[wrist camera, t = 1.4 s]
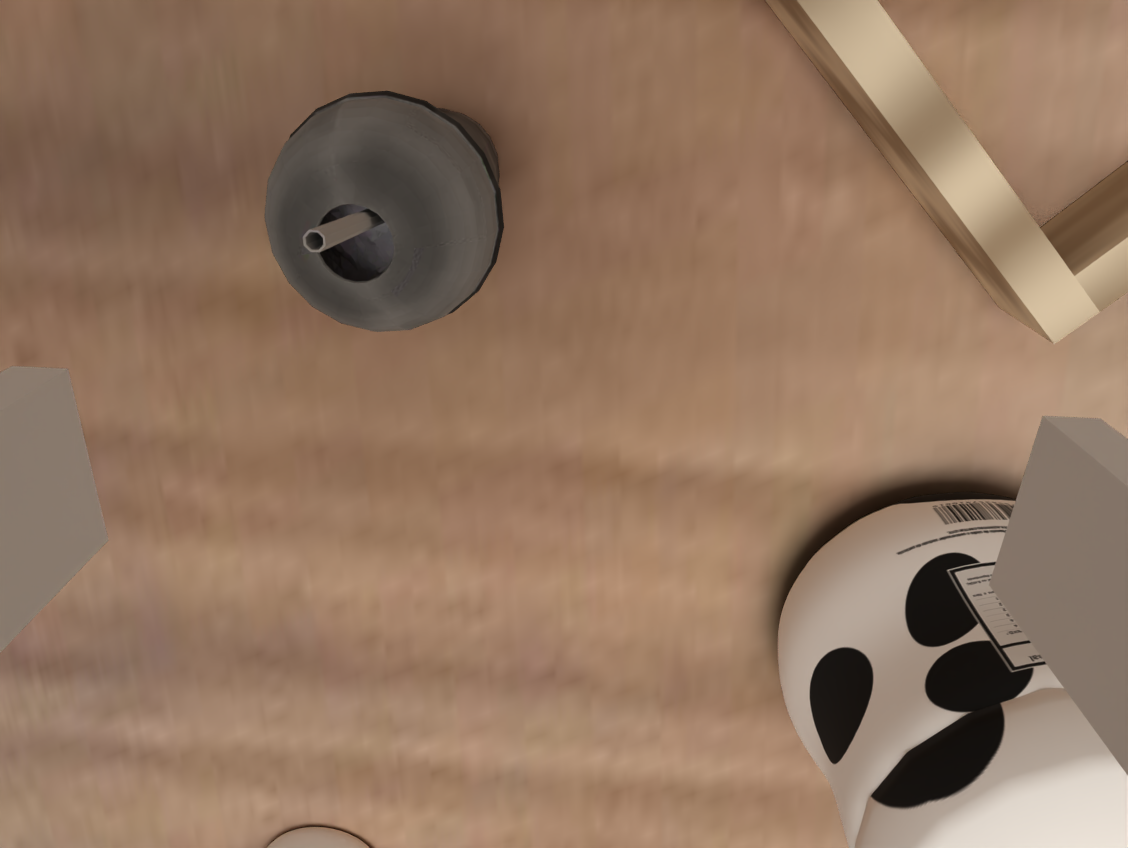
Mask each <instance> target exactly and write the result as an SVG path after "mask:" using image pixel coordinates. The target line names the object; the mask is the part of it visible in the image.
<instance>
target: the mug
mask: <svg viewBox="0 0 1128 848" xmlns="http://www.w3.org/2000/svg"><path fill="white" fill-rule="evenodd" d="M267 848H370V847H369V846H367V845H366V844H365V843H364V842H362V841H361V840H360V839H358V838H356V837H355V836H352V835H350V834H348V833H346V832H343V831H340V830H336V829H332V828H326V827H306V828H300V829H296V830H292V831H289V832H287V833H285V834H283V835H281V836H279V837H278V838H277V839H275V840H274V841H273V842H272V843H271V844H270V845H269V846H268V847H267Z"/></svg>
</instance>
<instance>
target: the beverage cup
mask: <svg viewBox="0 0 1128 848" xmlns="http://www.w3.org/2000/svg"><path fill="white" fill-rule="evenodd" d="M498 183H499V166H498V157H497V152H496V150H495V147H494V145H493V143H492V140H491V138H490V137H489V135H488V134H487V133H486V132H485V130H484V129H483V128H482V127H481V126H480V124H478V123H477V122H475V121H474V120H472V119H470V118H469V117H467V116H466V115H463V114H462V113H458V112H454V111H450V110H447V109H443V108H436V107H434V106H433V105H431V104H430V103H428V102H427V101H424V100H420V99H416V98H413V97H409V96H405V95H401V94H398V93H394V92H390V91H380V92H366V93H352V94H348V95H346V96H344V97H342V98H339V99H337V100H335V101H333V102H330V103H328V104H326V105H324V106H322V107H319V108H317V109H316V110H315V111H314V112H313V113H312V114H311V115H310V116H309V117H308V118H307V119H306V120H305V121H304V122H303V123H302V124H301V125H300V126H299V127H298V128H297V129H296V130H295V131H294V132H293V133H292V134H291V136H290V138H289V140H288V141H287V142H286V143H285V145H284V146H283V148H282V150H281V152H280V155H279V157H278V159H277V161H276V163H275V166H274V168H273V170H272V172H271V174H270V177H269V179H268V185H267V196H266V207H265V222H266V226H267V231H268V235H269V240H270V244H271V249H272V253H273V255H274V257H275V258H276V260H277V262H278V264H279V266H280V267H281V269H282V271H283V273H284V275H285V277H286V278H287V280H288V282H289V283H290V284H291V285H292V286H293V287H294V288H295V289H296V290H297V291H298V292H299V293H300V294H301V295H302V296H303V298H304V299H305V300H306V301H307V302H308V303H309V304H310V305H311V306H312V307H314V308H316V309H317V310H319V311H321V312H323V313H324V314H326V315H328V316H330V317H331V318H333V319H335V320H336V321H338V322H340V323H342V324H346V325H350V326H354V327H358V328H362V329H366V330H370V331H375V332H382V331H400V330H411V329H413V328H416V327H419V326H421V325H424V324H426V323H429V322H432V321H434V320H437V319H439V318H442V317H444V316H446V315H447V314H450V313H453V312H454V311H455V310H456V309H458V308H459V307H460V306H461V305H462V304H464V303H465V302H466V301H467V300H468V299H470V298H471V297H472V296H473V295H474V294H476V293H477V292H478V291H479V290H480V288H481V286H482V285H483V283H484V281H485V280H486V278H487V276H488V275H489V273H490V271H491V270H492V268H493V266H494V265H495V263H496V261H497V256H498V252H499V247H500V242H501V238H502V233H503V229H504V223H503V213H502V202H501V192H500V188H499V185H498Z"/></svg>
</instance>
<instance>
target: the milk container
mask: <svg viewBox="0 0 1128 848" xmlns="http://www.w3.org/2000/svg"><path fill="white" fill-rule="evenodd" d="M1015 501H1016V500H1015V499H1012V498H1008V497H1002V496H997V495H990V494H982V493H974V492H955V493H943V494H932V495H924V496H918V497H913V498H909V499H906V500H903V501H900V502H897V503H894V504H892V505H889V506H887V507H884V508H881V509H879V510H876V511H874V512H871V513H869V514H867V515H865V516H863V517H861V518H859V519H857V520H856V521H854V522H853V523H851V524H850V525H848V526H847V527H846V528H844V529H843V530H842V531H840V532H839V533H838V534H836V535H835V536H834V537H833V538H831V539H830V540H829V541H827V542H826V543H825V544H824V545H823V546H822V547H821V548H820V549H818V550H817V551H816V552H815V554H814V555H813V556H812V557H811V559H810V560H809V561H808V563H807V564H806V566H805V567H804V569H803V570H802V572H801V573H800V575H799V576H798V578H797V579H796V581H795V582H794V584H793V586H792V588H791V590H790V592H789V594H788V596H787V599H786V601H785V604H784V607H783V610H782V614H781V617H780V623H779V629H778V666H779V676H780V683H781V688H782V693H783V696H784V700H785V704H786V707H787V710H788V713H789V716H790V718H791V720H792V723H793V725H794V727H795V729H796V732H797V734H798V736H799V737H800V739H801V741H802V742H803V744H804V746H805V747H806V749H807V751H808V752H809V754H810V755H811V757H812V758H813V760H814V761H815V762H816V764H817V765H818V767H819V768H820V770H821V771H822V772H823V774H824V775H825V777H826V778H827V780H828V781H829V783H830V786H831V788H832V790H833V793H834V796H835V799H836V802H837V806H838V810H839V813H840V817H841V821H842V825H843V828H844V832H845V836H846V839H847V842H848V846H849V848H1128V775H1127V774H1126V773H1125V771H1124V770H1123V768H1122V767H1121V766H1120V764H1119V763H1118V762H1117V760H1116V759H1115V757H1114V756H1113V755H1112V753H1111V752H1110V751H1109V749H1108V748H1107V746H1106V745H1105V744H1104V742H1103V741H1102V740H1101V738H1100V737H1099V735H1098V734H1097V733H1096V731H1095V730H1094V729H1093V727H1092V726H1091V725H1090V723H1089V722H1088V720H1087V719H1086V718H1085V716H1084V715H1083V714H1082V712H1081V711H1080V709H1079V708H1078V707H1077V705H1076V704H1075V703H1074V701H1073V700H1072V698H1071V697H1070V696H1069V694H1068V693H1067V692H1066V690H1065V689H1064V687H1063V686H1062V685H1061V683H1060V682H1059V681H1058V679H1057V678H1056V676H1055V675H1054V674H1053V672H1052V671H1051V670H1050V668H1049V667H1048V665H1047V664H1046V663H1045V661H1044V660H1043V659H1042V657H1041V656H1040V654H1039V653H1038V652H1037V650H1036V649H1035V648H1034V646H1033V645H1032V643H1031V642H1030V641H1029V639H1028V638H1027V637H1026V635H1025V634H1024V632H1023V631H1022V630H1021V628H1020V627H1019V626H1018V624H1017V623H1016V621H1015V620H1014V619H1013V617H1012V616H1011V615H1010V613H1009V612H1008V610H1007V609H1006V608H1005V606H1004V605H1003V604H1002V602H1001V601H1000V600H999V598H998V597H997V595H996V594H995V593H994V591H993V590H992V589H991V587H990V586H989V583H990V580H991V577H992V573H993V570H994V567H995V564H996V561H997V558H998V555H999V551H1000V548H1001V545H1002V542H1003V539H1004V536H1005V533H1006V530H1007V526H1008V523H1009V520H1010V517H1011V514H1012V511H1013V508H1014V504H1015Z"/></svg>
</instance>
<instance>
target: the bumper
mask: <svg viewBox="0 0 1128 848" xmlns="http://www.w3.org/2000/svg"><path fill="white" fill-rule="evenodd" d="M765 1H766V2H767V4H768V5H769V6H770V8H771V9H772V10H773V11H774V13H775V14H776V15H777V17H778V18H779V19H780V21H781V22H782V23H783V25H784V26H785V27H786V29H787V30H788V31H789V32H790V34H791V35H792V36H793V38H794V39H795V40H796V42H797V43H798V44H799V46H800V47H801V48H802V50H803V51H804V52H805V53H806V55H807V56H808V57H809V59H810V60H811V61H812V63H813V64H814V65H815V67H816V68H817V69H818V71H819V72H820V73H821V74H822V76H823V77H824V78H825V80H826V81H827V82H828V84H829V85H830V86H831V88H832V89H833V90H834V92H835V93H836V94H837V95H838V97H839V98H840V99H841V101H842V102H843V103H844V105H845V106H846V107H847V109H848V110H849V111H850V113H851V114H852V115H853V116H854V118H855V119H856V120H857V122H858V123H859V124H860V126H861V127H862V128H863V130H864V131H865V132H866V134H867V135H868V136H869V137H870V139H871V140H872V141H873V143H874V144H875V145H876V147H877V148H878V149H879V151H880V152H881V153H882V155H883V156H884V157H885V158H886V160H887V161H888V162H889V164H890V165H891V166H892V168H893V169H894V170H895V172H896V173H897V174H898V176H899V177H900V178H901V179H902V181H903V182H904V183H905V185H906V186H907V187H908V189H909V190H910V191H911V193H912V194H913V195H914V197H915V198H916V199H917V200H918V202H919V203H920V204H921V206H922V207H923V208H924V210H925V211H926V212H927V214H928V215H929V216H930V217H931V219H932V220H933V221H934V223H935V224H936V225H937V227H938V228H939V229H940V231H941V232H942V233H943V235H944V236H945V237H946V238H947V240H948V241H949V242H950V244H951V245H952V246H953V248H954V249H955V250H956V252H957V253H958V254H959V256H960V257H961V258H962V259H963V261H964V262H965V263H966V265H967V266H968V267H969V269H970V270H971V271H972V273H973V274H974V275H975V277H976V278H977V279H978V280H979V282H980V283H981V284H982V286H983V287H984V288H985V290H986V291H987V292H988V294H989V295H990V296H991V298H992V299H993V300H994V301H995V303H996V304H997V305H998V307H999V308H1000V309H1002V310H1003V311H1005V312H1006V313H1008V314H1009V315H1011V316H1012V317H1014V318H1015V319H1017V320H1018V321H1020V322H1022V323H1023V324H1025V325H1026V326H1028V327H1029V328H1031V329H1032V330H1034V331H1035V332H1037V333H1038V334H1040V335H1041V336H1043V337H1044V338H1046V339H1047V340H1049V341H1050V342H1052V343H1053V344H1055V343H1057V342H1058V341H1060V340H1061V339H1062V338H1064V337H1065V336H1067V335H1068V334H1069V333H1071V332H1072V331H1074V330H1075V329H1077V328H1078V327H1079V326H1081V325H1082V324H1084V323H1085V322H1086V321H1088V320H1089V319H1091V318H1092V317H1093V316H1095V315H1096V314H1098V313H1099V312H1101V311H1102V310H1103V309H1105V308H1106V307H1108V306H1109V305H1110V304H1112V303H1113V302H1115V301H1116V300H1118V299H1119V298H1120V297H1122V296H1123V295H1125V294H1126V293H1127V292H1128V161H1127V162H1126V163H1125V164H1124V165H1122V166H1121V167H1120V168H1118V169H1117V170H1116V171H1114V172H1113V173H1112V174H1110V175H1109V176H1108V177H1106V178H1105V179H1104V180H1103V181H1101V182H1100V183H1099V184H1097V185H1096V186H1095V187H1093V188H1092V189H1091V190H1089V191H1088V192H1087V193H1085V194H1084V195H1083V196H1082V197H1080V198H1079V199H1078V200H1076V201H1075V202H1074V203H1072V204H1071V205H1070V206H1068V207H1067V208H1066V209H1064V210H1063V211H1062V212H1060V213H1059V214H1058V215H1057V216H1055V217H1054V218H1053V219H1051V220H1050V221H1049V222H1047V223H1046V224H1045V225H1043V226H1042V227H1041V228H1040V227H1039V226H1038V224H1037V223H1036V222H1035V220H1034V219H1033V217H1032V216H1031V215H1030V213H1029V212H1028V210H1027V209H1026V208H1025V206H1024V205H1023V203H1022V202H1021V201H1020V199H1019V198H1018V196H1017V195H1016V194H1015V192H1014V191H1013V189H1012V188H1011V187H1010V185H1009V184H1008V182H1007V181H1006V180H1005V178H1004V177H1003V175H1002V174H1001V173H1000V171H999V170H998V168H997V167H996V166H995V164H994V163H993V161H992V160H991V159H990V157H989V156H988V154H987V153H986V152H985V150H984V149H983V147H982V146H981V145H980V143H979V142H978V140H977V139H976V138H975V136H974V135H973V133H972V132H971V131H970V129H969V128H968V126H967V125H966V124H965V122H964V121H963V119H962V118H961V117H960V115H959V114H958V112H957V111H956V110H955V108H954V107H953V105H952V104H951V103H950V101H949V100H948V98H947V97H946V96H945V94H944V93H943V91H942V90H941V89H940V87H939V86H938V84H937V83H936V82H935V80H934V79H933V77H932V76H931V75H930V73H929V72H928V70H927V69H926V67H925V66H924V65H923V63H922V62H921V60H920V59H919V58H918V56H917V55H916V53H915V52H914V51H913V49H912V48H911V46H910V45H909V44H908V42H907V41H906V39H905V38H904V37H903V35H902V34H901V32H900V31H899V30H898V28H897V27H896V25H895V24H894V23H893V21H892V20H891V18H890V17H889V16H888V14H887V13H886V11H885V10H884V9H883V7H882V6H881V4H880V3H879V2H878V0H765Z"/></svg>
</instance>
